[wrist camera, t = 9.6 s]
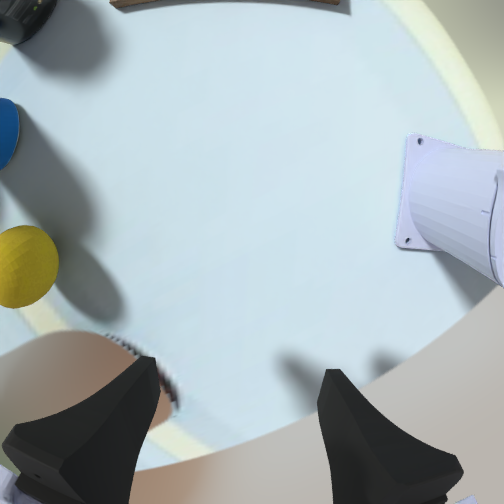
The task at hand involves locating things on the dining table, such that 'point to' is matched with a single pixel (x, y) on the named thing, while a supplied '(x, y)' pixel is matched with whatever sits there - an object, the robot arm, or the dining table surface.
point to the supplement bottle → (22, 18)
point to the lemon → (26, 265)
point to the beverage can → (8, 130)
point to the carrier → (127, 0)
